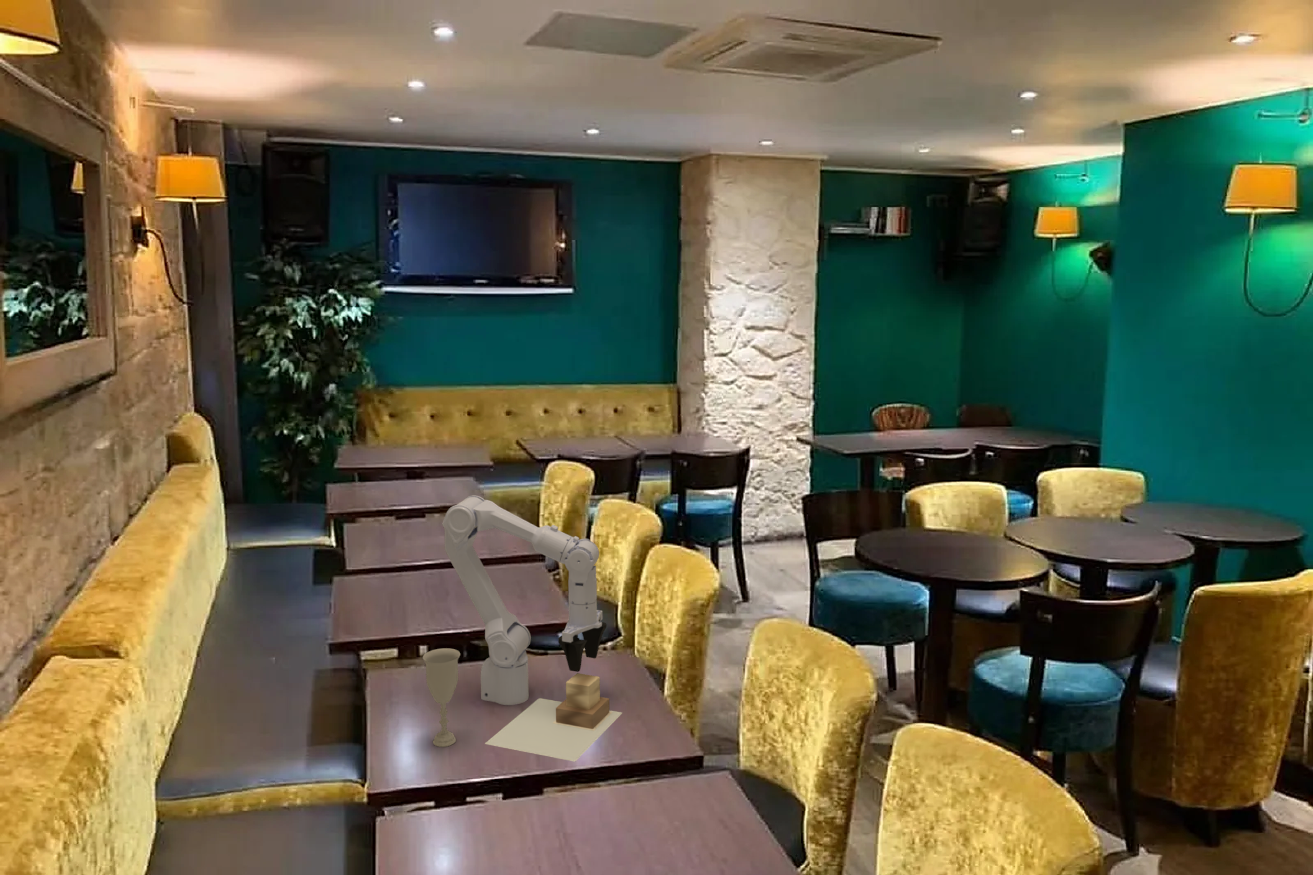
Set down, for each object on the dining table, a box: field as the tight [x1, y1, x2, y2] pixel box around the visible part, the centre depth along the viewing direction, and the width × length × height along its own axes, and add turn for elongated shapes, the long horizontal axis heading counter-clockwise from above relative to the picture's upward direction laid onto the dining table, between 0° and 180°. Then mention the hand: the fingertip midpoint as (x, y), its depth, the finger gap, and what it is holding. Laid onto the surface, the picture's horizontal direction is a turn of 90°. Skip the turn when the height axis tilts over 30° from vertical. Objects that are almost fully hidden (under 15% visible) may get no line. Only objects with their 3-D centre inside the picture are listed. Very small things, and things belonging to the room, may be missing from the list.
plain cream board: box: [484, 697, 623, 763], centre depth 196 cm, size 19×22×1 cm
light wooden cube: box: [565, 672, 601, 710], centre depth 200 cm, size 5×5×5 cm
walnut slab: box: [556, 696, 610, 729], centre depth 200 cm, size 8×8×3 cm
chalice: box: [422, 647, 461, 748], centre depth 189 cm, size 7×7×18 cm
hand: (583, 663), depth 206 cm, fingers open, 7 cm apart
